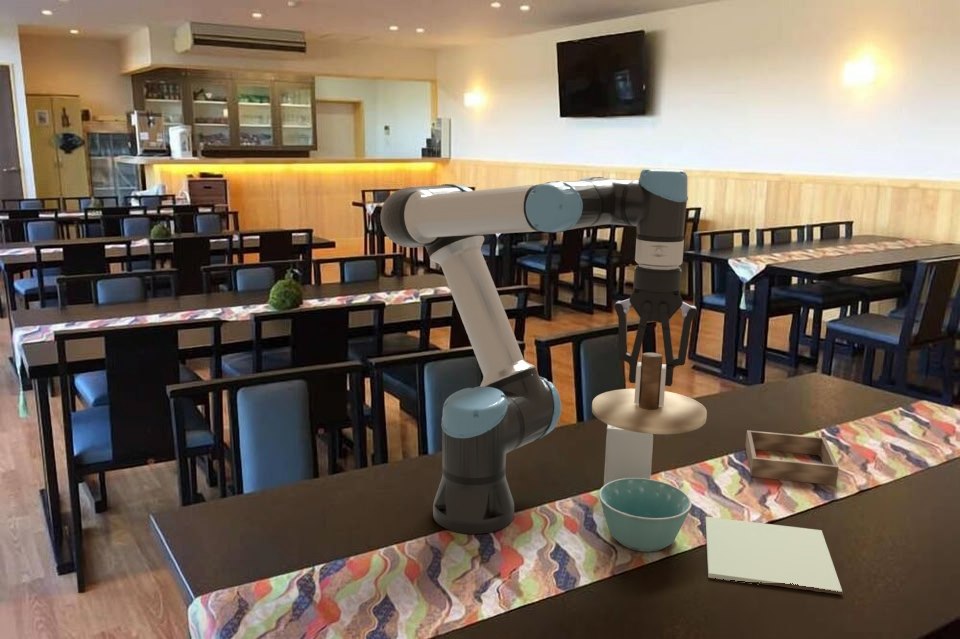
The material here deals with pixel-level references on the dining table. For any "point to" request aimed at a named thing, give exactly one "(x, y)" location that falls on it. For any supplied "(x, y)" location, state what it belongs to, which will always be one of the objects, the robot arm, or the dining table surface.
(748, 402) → the dining table surface
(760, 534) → the mat
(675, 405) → the lid
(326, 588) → the dining table surface
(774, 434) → the holder corral
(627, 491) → the bowl
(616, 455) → the supplement box
